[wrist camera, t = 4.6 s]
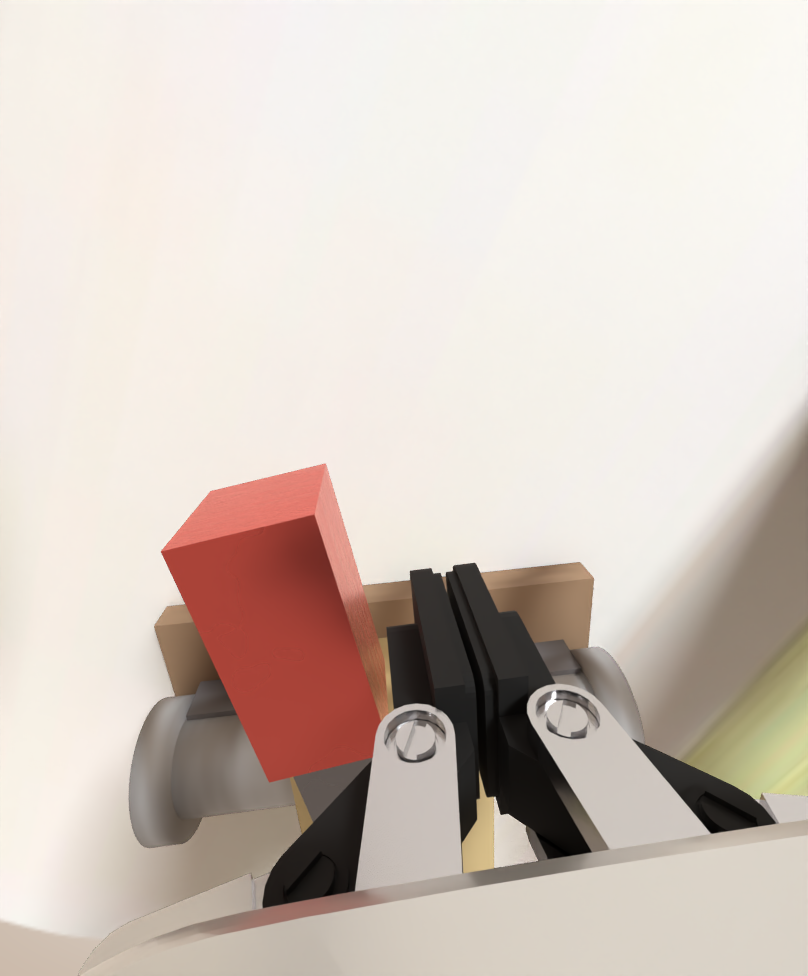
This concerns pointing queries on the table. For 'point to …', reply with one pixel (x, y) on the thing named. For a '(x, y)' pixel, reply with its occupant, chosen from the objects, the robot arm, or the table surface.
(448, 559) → the table surface
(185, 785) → the valve manifold
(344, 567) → the lever
